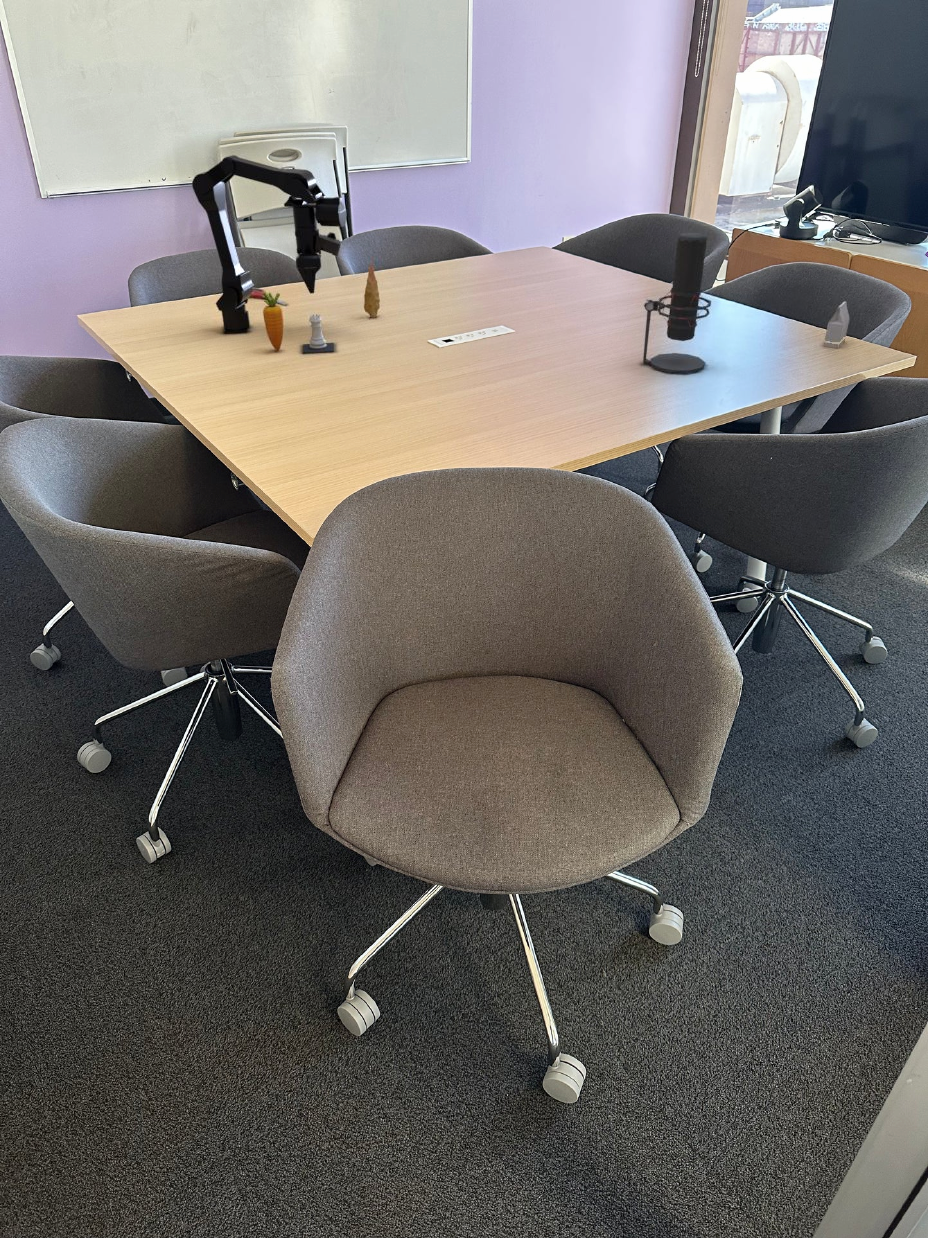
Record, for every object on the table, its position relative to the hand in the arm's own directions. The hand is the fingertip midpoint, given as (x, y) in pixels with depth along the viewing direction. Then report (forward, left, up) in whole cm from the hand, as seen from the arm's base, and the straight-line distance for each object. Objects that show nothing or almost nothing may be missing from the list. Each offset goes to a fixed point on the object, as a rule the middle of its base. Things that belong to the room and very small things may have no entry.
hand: (312, 288), depth 238 cm
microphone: (+87, -41, -12) cm, 97 cm away
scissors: (-15, +41, -12) cm, 45 cm away
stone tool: (+16, +14, -12) cm, 25 cm away
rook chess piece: (0, -13, -12) cm, 17 cm away
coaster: (0, -13, -12) cm, 18 cm away
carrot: (-10, -13, -12) cm, 20 cm away
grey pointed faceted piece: (+133, -31, -12) cm, 137 cm away
